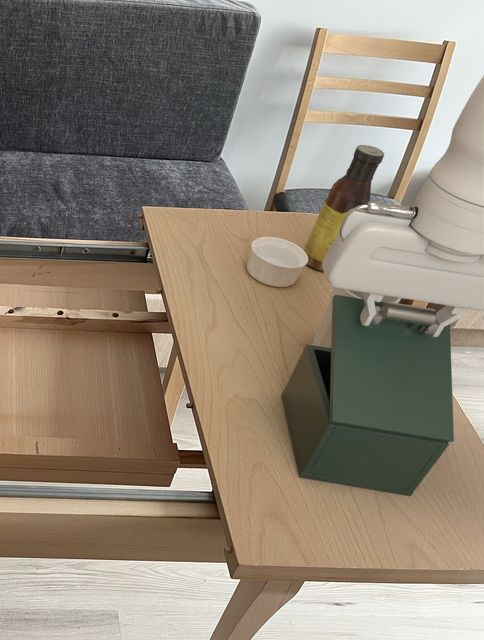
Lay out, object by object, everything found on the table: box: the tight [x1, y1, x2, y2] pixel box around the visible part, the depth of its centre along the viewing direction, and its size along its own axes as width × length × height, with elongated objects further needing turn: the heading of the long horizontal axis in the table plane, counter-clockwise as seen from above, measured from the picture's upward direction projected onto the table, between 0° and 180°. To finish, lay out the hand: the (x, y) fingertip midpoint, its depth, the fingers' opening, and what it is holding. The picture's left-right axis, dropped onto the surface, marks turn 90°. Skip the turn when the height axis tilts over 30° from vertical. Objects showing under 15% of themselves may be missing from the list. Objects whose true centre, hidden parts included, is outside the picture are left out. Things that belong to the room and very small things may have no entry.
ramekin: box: [246, 236, 308, 288], centre depth 110 cm, size 9×9×4 cm
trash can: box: [280, 344, 450, 497], centre depth 81 cm, size 14×13×9 cm
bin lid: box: [330, 295, 455, 443], centre depth 73 cm, size 15×13×5 cm
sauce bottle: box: [303, 144, 385, 272], centre depth 109 cm, size 6×6×20 cm
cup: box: [311, 287, 402, 348], centre depth 93 cm, size 8×8×12 cm
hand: (397, 328), depth 75 cm, fingers closed on bin lid, 5 cm apart
